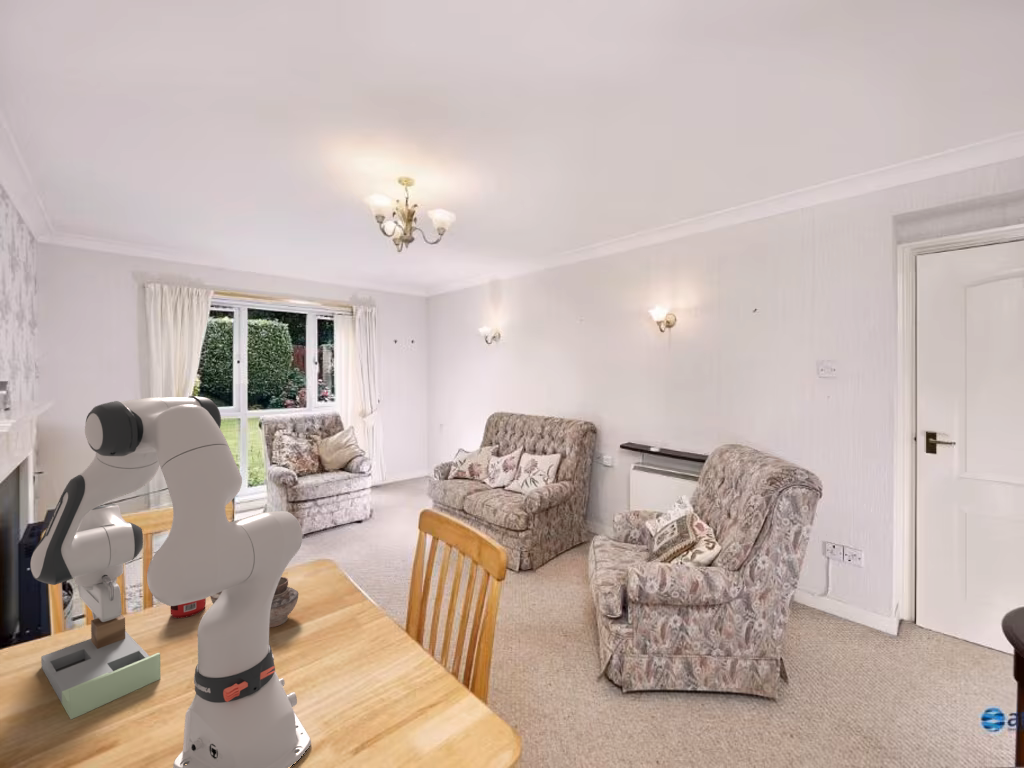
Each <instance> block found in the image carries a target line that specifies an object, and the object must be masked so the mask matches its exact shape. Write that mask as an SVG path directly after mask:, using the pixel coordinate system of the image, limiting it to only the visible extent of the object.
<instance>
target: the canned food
mask: <svg viewBox="0 0 1024 768" xmlns="http://www.w3.org/2000/svg"><path fill="white" fill-rule="evenodd" d="M206 603H207V598H205V599H201V600H197V601H194V602H190V603H185V604H181V605H176V606H170V615H171V617H172V618H174V619H184V618H189V617H192V616H195V615H197V614H199V613H201V612H203V610H204V609H205V607H206Z"/></svg>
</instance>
